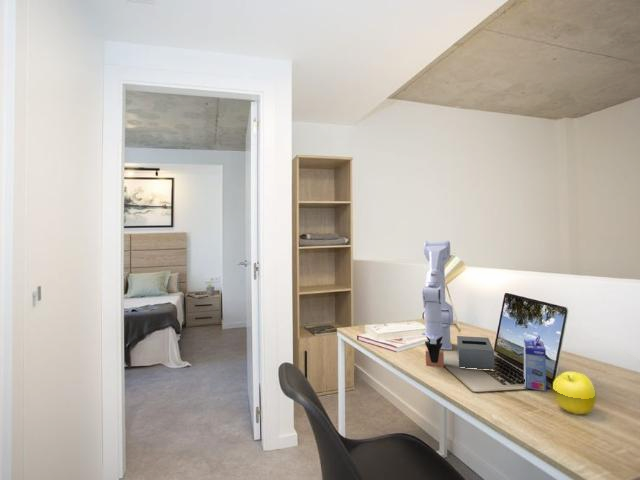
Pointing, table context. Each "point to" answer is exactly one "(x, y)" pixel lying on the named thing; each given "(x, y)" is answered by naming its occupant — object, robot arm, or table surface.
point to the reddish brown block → (440, 359)
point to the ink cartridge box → (535, 364)
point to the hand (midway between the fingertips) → (434, 358)
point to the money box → (475, 352)
